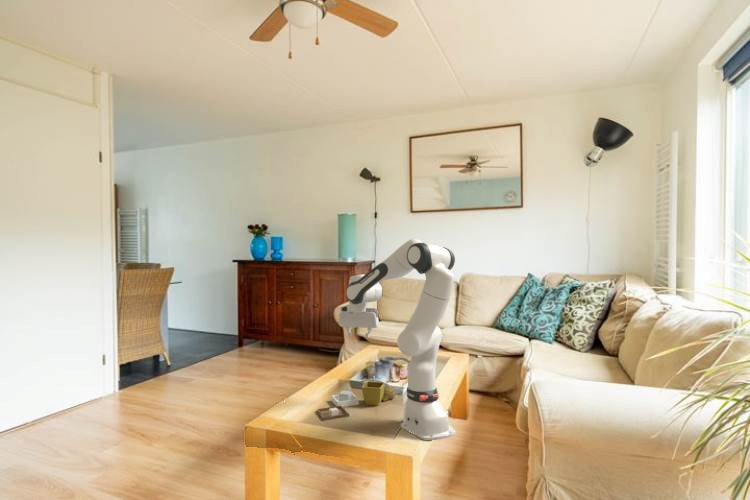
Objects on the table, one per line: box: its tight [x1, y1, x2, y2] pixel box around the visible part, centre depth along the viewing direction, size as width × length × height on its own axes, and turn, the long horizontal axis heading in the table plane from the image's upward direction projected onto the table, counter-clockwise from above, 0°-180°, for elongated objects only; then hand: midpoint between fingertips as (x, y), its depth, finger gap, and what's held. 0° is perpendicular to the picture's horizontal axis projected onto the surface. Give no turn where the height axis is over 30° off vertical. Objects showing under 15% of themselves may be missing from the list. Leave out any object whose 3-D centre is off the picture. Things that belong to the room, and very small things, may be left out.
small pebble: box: [329, 408, 339, 417], centre depth 167 cm, size 3×3×3 cm
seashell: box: [381, 386, 396, 402], centre depth 189 cm, size 10×7×8 cm
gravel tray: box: [316, 405, 350, 422], centre depth 170 cm, size 11×11×2 cm
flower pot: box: [361, 380, 386, 406], centre depth 183 cm, size 9×9×9 cm
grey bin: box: [331, 392, 360, 408], centre depth 184 cm, size 10×10×3 cm
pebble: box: [338, 390, 353, 402], centre depth 184 cm, size 4×4×4 cm
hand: (358, 336), depth 193 cm, fingers open, 8 cm apart
